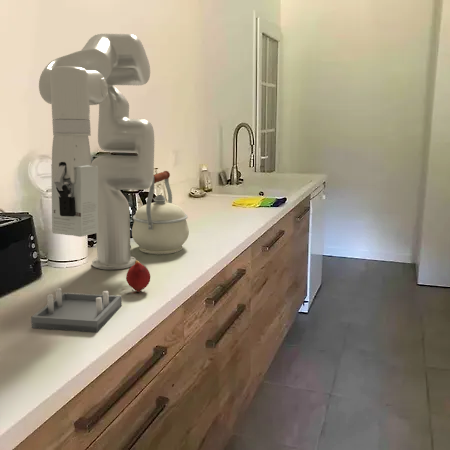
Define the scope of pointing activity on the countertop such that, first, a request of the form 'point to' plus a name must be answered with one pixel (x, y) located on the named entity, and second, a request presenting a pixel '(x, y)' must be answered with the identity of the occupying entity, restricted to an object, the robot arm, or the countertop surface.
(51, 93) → the robot arm
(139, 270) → the onion
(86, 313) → the pin tray
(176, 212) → the kettle
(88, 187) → the skincare box
